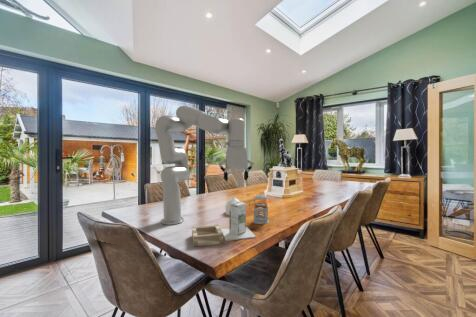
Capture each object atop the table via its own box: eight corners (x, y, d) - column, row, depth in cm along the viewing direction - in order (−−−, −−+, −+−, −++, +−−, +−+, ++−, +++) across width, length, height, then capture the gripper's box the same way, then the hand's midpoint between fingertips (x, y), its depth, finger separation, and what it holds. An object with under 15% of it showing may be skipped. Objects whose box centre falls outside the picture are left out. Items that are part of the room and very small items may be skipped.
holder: (192, 235, 112) (191, 227, 112) (218, 233, 115) (218, 225, 115) (193, 246, 100) (193, 237, 99) (223, 243, 103) (223, 234, 103)
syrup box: (237, 229, 118) (236, 201, 118) (246, 232, 114) (245, 202, 114) (229, 232, 114) (228, 203, 113) (238, 235, 110) (238, 204, 110)
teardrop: (244, 214, 147) (244, 195, 147) (226, 216, 145) (226, 196, 144) (240, 210, 158) (240, 192, 158) (224, 211, 156) (223, 193, 155)
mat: (220, 230, 119) (220, 229, 119) (247, 227, 123) (247, 226, 123) (226, 240, 106) (226, 239, 106) (255, 237, 109) (255, 236, 109)
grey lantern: (269, 224, 128) (268, 178, 127) (248, 223, 130) (247, 178, 129) (270, 219, 137) (270, 176, 136) (250, 218, 140) (250, 176, 139)
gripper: (219, 144, 107) (219, 182, 107) (256, 144, 111) (255, 180, 112) (217, 144, 114) (217, 179, 115) (251, 144, 118) (250, 178, 119)
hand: (236, 180), depth 113 cm, fingers open, 9 cm apart
